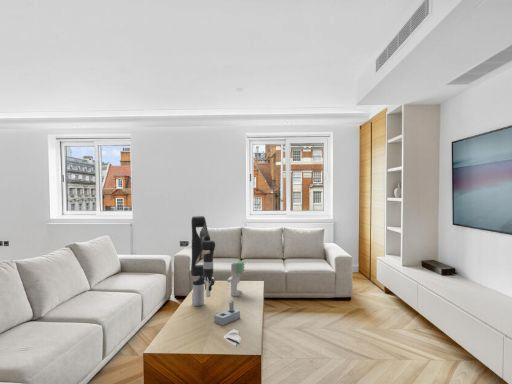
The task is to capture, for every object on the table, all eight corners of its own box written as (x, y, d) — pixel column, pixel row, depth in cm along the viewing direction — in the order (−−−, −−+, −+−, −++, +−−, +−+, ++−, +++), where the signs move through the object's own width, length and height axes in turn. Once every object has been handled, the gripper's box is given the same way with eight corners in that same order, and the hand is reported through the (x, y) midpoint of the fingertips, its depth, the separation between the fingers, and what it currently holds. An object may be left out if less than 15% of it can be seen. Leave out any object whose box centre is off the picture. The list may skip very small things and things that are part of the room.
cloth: (227, 329, 222) (227, 326, 222) (246, 330, 221) (246, 326, 221) (218, 347, 196) (218, 343, 196) (240, 348, 195) (240, 344, 195)
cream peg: (205, 296, 239) (205, 280, 239) (208, 295, 242) (208, 279, 242) (208, 297, 237) (208, 281, 237) (211, 296, 240) (211, 280, 240)
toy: (238, 300, 280) (238, 265, 280) (227, 299, 282) (227, 265, 282) (247, 289, 309) (247, 258, 309) (237, 289, 311) (237, 258, 311)
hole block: (214, 321, 233) (214, 315, 233) (231, 314, 247) (231, 308, 247) (222, 325, 227) (222, 318, 227) (240, 317, 241) (239, 310, 241)
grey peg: (228, 317, 240) (228, 301, 240) (231, 316, 243) (231, 300, 243) (231, 319, 238) (231, 302, 238) (234, 317, 241) (234, 301, 241)
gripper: (198, 266, 241) (198, 289, 241) (210, 269, 232) (210, 293, 232) (205, 265, 247) (205, 287, 247) (218, 267, 238) (218, 291, 238)
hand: (208, 290), depth 239 cm, fingers closed on cream peg, 3 cm apart
